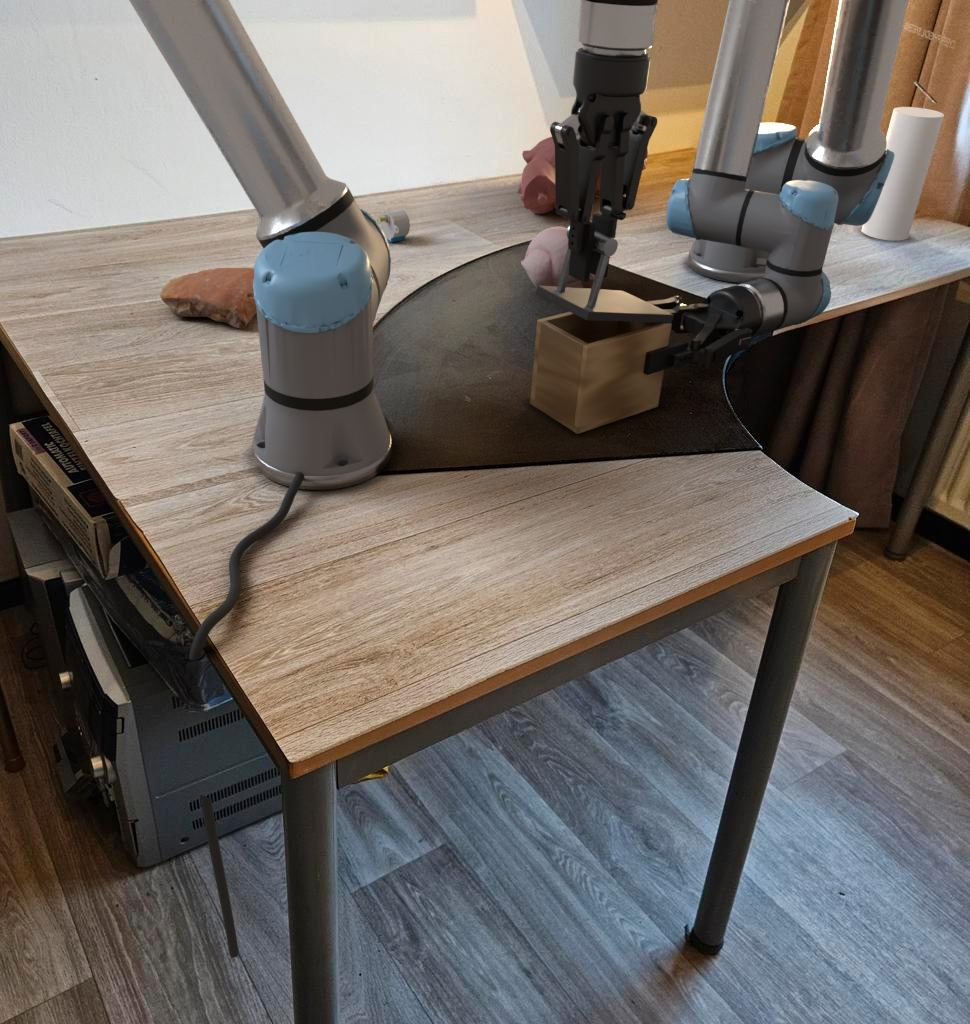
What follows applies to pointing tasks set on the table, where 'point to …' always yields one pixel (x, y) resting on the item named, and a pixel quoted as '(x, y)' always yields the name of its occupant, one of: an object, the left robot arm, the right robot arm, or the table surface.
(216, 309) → the ceramic shard
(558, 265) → the toy
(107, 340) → the table surface
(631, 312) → the lid
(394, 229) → the electric motor
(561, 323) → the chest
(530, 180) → the reddish clay figurine
